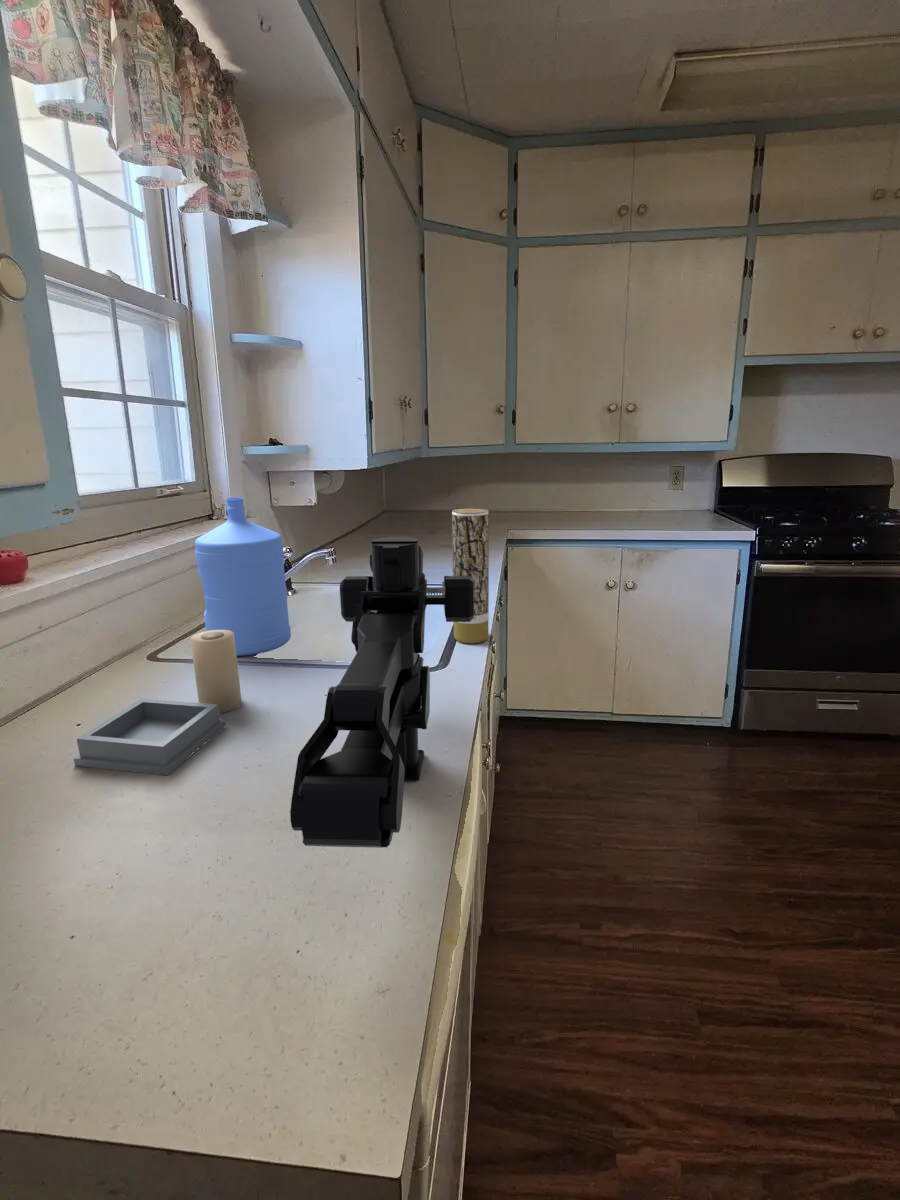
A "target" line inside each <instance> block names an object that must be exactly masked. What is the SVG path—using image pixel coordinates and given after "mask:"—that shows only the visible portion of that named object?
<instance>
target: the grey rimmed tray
mask: <svg viewBox="0 0 900 1200" xmlns="http://www.w3.org/2000/svg"><path fill="white" fill-rule="evenodd" d="M225 726H226V727H227V723H226V719H222V718H221V717H220V713H219V708H218V704H205V703H199V702H189V701H179V700H164V699H151V698H150V699H149V698H140V699H138V700H136V701H135V702H133V703H132V704H129V706H127V707H125V708H124V709H122V710H121V711H119V712H117V713H115V714H114V715H113V716H111V717H109V718H108V719H106V720H104V721H103V722H101V723H99V724H98V725H96V726H94V727H93V728H92V729H90V730H88V731H86V732H85V733H84V734H82V735H80V736H78V737H77V738H76V742H77V747H78V753H79V754H78V755H77V756H75V757H74V758H73V763H74V766H75V767H82V768H83V767H84V768H94V769H101V770H102V769H105V770H113V771H125V772H133V773H141V774H143V773H144V774H151V775H152V774H153V775H162V776H170V774H172V773H173V772H174V771H176V769H177V768H179V767H180V766H181V765H182V764H183V763H184V761H185V760H186V759H187V758H188V757H189V756H190V755H191V754H192V753H193V752H195V751H196V750H197V749H198V748H200V747H201V746H202V745H203V744H204V743H205V742H207V741H208V740H209V739H210V740H212V739H213V738H214V737H215V736H216V735H218V734H217V733H218V732H219V731H220V730H221V729H222V730H224V729H225V728H226V727H225ZM224 727H225V728H224ZM222 730H221V731H222ZM221 731H220V732H221ZM220 732H219V733H220ZM214 735H215V736H214ZM213 736H214V737H213ZM212 737H213V738H212ZM211 738H212V739H211ZM210 740H209V741H210ZM209 741H208V742H209ZM208 742H207V743H208ZM203 746H204V745H203ZM203 746H202V747H203ZM202 747H201V748H202ZM201 748H200V749H201ZM196 752H197V751H196ZM196 752H195V753H196ZM190 757H191V756H190ZM190 757H189V758H190ZM189 758H188V759H189ZM188 759H187V760H188ZM187 760H186V761H187ZM186 761H185V762H186ZM178 766H179V767H178Z"/></svg>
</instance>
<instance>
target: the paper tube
mask: <svg viewBox="0 0 900 1200" xmlns="http://www.w3.org/2000/svg"><path fill="white" fill-rule="evenodd" d="M489 517H490V515H489V510H488V509H485V508H458V509H457V508H456V509H453V510H452V512H451V539H452V541H451V542H452V545H451V546H452V552H451V553H452V576H470V577H471V578H472V579H473V580H474V618H473V619H472V620H471V621H470V622H453V638H454V640H456V641H457V642H459V643H462V644H468V645H469V644H472V645H473V644H480V643H483V642H486V641H487V639H488V638H489V618H490V617H489V615H490V614H489V613H490V611H489V608H490V607H489V606H490V605H489V602H490V599H489V598H490V597H489V595H490V593H489V589H490V588H489V585H490V584H489V583H490V582H489V581H490V580H489V579H490V577H489V574H490V569H489V568H490V567H489V565H490V564H489V563H490V559H489V558H490V553H489V552H490V551H489V550H490V549H489V548H490V547H489V544H490V542H489V539H490V537H489V535H490V531H489V530H490V529H489V527H490V526H489V525H490V524H489V522H490V521H489V520H490V518H489Z"/></svg>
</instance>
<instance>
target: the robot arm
mask: <svg viewBox="0 0 900 1200" xmlns="http://www.w3.org/2000/svg"><path fill="white" fill-rule="evenodd" d="M370 543H371V544H370V547H371V553H370V554H369V567H370V571H371V572H372V575H371V576H370V575H369V576H367V575H363V576H361V575H360V576H359V575H357V576H356V575H355V576H354V575H353V576H344V579H342V580H341V581H340V583H339V599H340V602H339V603H340V613H341V617H342V618H343V620H344V621H345V622H348V623H349V622H350V623H351V622H352V627H351V637H350V638H351V643H352V644H353V646H354V648H355V652H356V653H355V655H354V656H353V658H352V660H351V662H350V664H349V666H348V667H347V669H346V671H345V672H344V675H343V676H342V678H341V680H340V681H339V683H338V684H337V685H336V686H332V685H331V686H330V687H329V688H328V691H327V695H326V701H325V706H324V707H325V708H324V713H323V714H324V716H323V720H322V722H320V724H319V725H318V727H317V728H316V730H315V731H314V732H313V734H312V735H311V737H310V738H309V739H308V740H307V742H306V743H305V745H304V746H303V748H302V749H301V750H300V751H299V753H298V756H297V762H296V767H295V769H296V770H295V775H294V783H293V788H292V795H291V801H290V802H291V803H290V811H289V812H290V813H289V814H290V824H291V826H290V827H291V829H292V831H298V832H299V831H301V834H302V843H303V845H304V846H306V847H333V848H334V847H338V848H339V847H340V848H374V849H375V848H376V849H377V848H378V849H379V848H381V849H382V848H388V847H389V846H390V844H391V843H392V840H393V835H394V833H396V834H398V833H400V831H401V825H402V817H403V807H404V806H403V801H404V788H405V781H419V780H420V778H421V772H422V769H423V768H422V767H423V763H424V758H425V750H423V749H419V735H418V733H419V729H420V730H427V729H428V723H429V716H430V711H431V710H430V708H431V707H430V701H431V698H430V696H431V675H430V673H431V672H430V666H429V665H424V658H423V657H422V656H421V655H420V654H423V653H424V649H425V647H424V646H425V622H426V621H425V620H426V619H425V618H426V609H427V606H443V612H444V617H445V621H446V623H448V622H449V623H450V622H451V623H454V622H470V621H471V620H472V619H473V618H474V580H473V579H472V578H471V577H470V576H453V575H444V576H443V581H441V587H440V586H438V587H435V586H433V587H429V586H428V585H427V584H428V580H427V579H426V574H425V573H424V552H423V551H424V550H423V549H422V548H421V546H420V545H419V539H418V538H417V537H411V536H399V535H398V536H385V537H378V538H374V539H372V540H371V541H370ZM339 731H349V732H348V734H347V736H346V737H345V740H344V743H343V745H342V747H341V750H340V751H337V752H334V753H332V754H330V755H328V756H325V757H324V755H325V754H326V752H327V751H328V749H329V747H330V746H331V745H332V744H333V742H334V740H335V739H336V738H337V737H338V734H339Z"/></svg>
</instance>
